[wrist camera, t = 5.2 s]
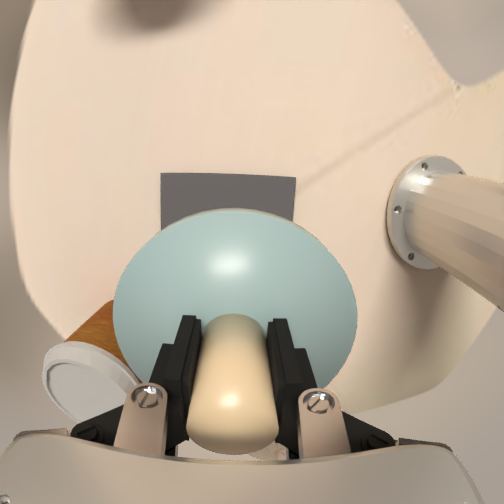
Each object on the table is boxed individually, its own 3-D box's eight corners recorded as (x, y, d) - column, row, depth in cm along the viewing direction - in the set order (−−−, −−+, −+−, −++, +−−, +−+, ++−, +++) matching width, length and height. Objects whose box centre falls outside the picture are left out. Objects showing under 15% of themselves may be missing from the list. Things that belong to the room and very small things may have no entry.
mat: (294, 177, 26) (295, 177, 26) (283, 297, 30) (284, 299, 30) (161, 172, 25) (160, 173, 25) (165, 294, 29) (164, 296, 29)
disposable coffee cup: (167, 362, 32) (148, 444, 21) (93, 350, 31) (55, 420, 20) (165, 290, 29) (133, 367, 18) (82, 280, 28) (23, 341, 17)
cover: (366, 214, 12) (453, 266, 6) (327, 401, 16) (353, 486, 10) (109, 207, 12) (19, 254, 6) (140, 396, 15) (113, 481, 9)
